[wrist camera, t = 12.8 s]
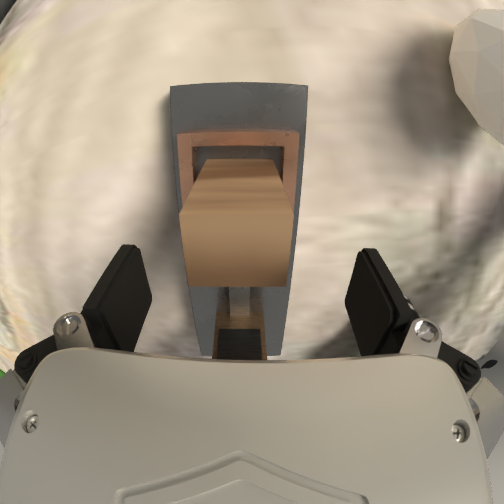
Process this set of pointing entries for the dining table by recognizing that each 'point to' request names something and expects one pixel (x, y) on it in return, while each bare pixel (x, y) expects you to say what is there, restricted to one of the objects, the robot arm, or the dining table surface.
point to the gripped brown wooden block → (237, 225)
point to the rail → (240, 147)
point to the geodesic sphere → (481, 68)
